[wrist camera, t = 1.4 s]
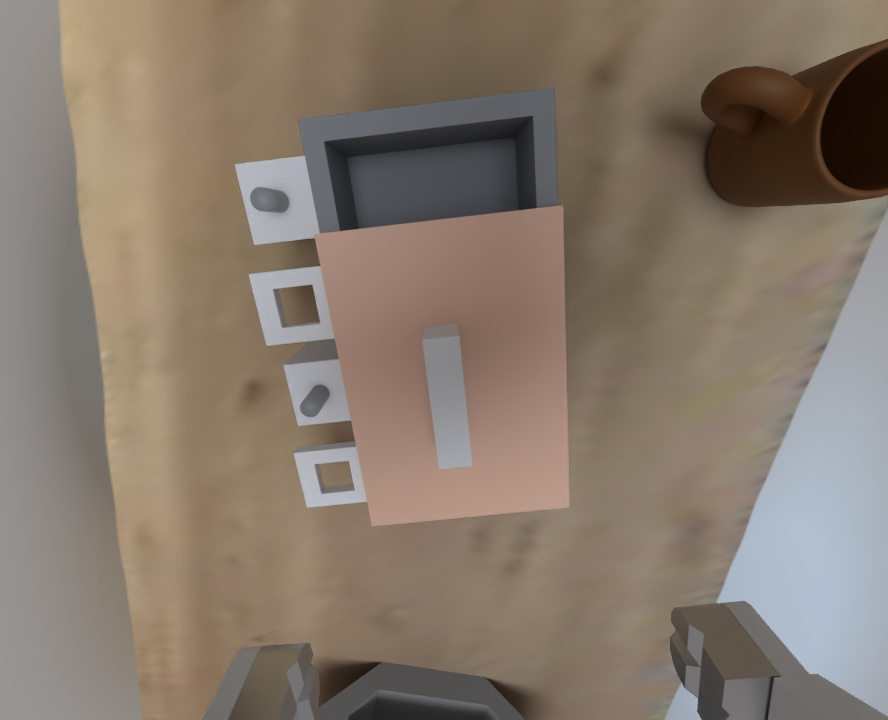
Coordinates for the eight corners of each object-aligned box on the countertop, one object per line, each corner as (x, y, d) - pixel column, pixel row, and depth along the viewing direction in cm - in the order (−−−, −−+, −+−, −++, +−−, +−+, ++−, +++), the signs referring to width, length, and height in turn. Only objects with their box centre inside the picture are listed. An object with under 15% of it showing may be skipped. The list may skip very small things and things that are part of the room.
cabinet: (274, 150, 30) (202, 117, 21) (528, 118, 29) (567, 72, 20) (329, 407, 36) (292, 468, 27) (539, 385, 35) (573, 439, 26)
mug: (628, 173, 30) (706, 152, 21) (673, 54, 28) (782, -25, 19) (776, 220, 31) (910, 219, 22) (831, 109, 29) (1004, 58, 20)
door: (246, 242, 25) (209, 245, 21) (557, 205, 24) (580, 202, 20) (315, 520, 31) (297, 564, 27) (564, 496, 30) (583, 537, 26)
